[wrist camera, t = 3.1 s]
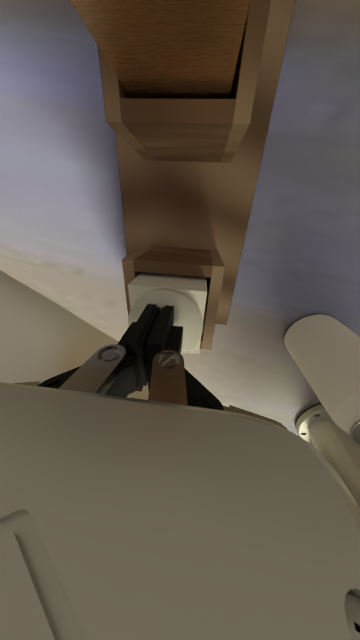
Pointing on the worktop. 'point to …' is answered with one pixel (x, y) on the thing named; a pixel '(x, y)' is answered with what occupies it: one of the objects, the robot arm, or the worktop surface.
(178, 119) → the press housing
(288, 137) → the worktop surface
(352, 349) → the can
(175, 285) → the pale plunger
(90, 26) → the copper plunger
